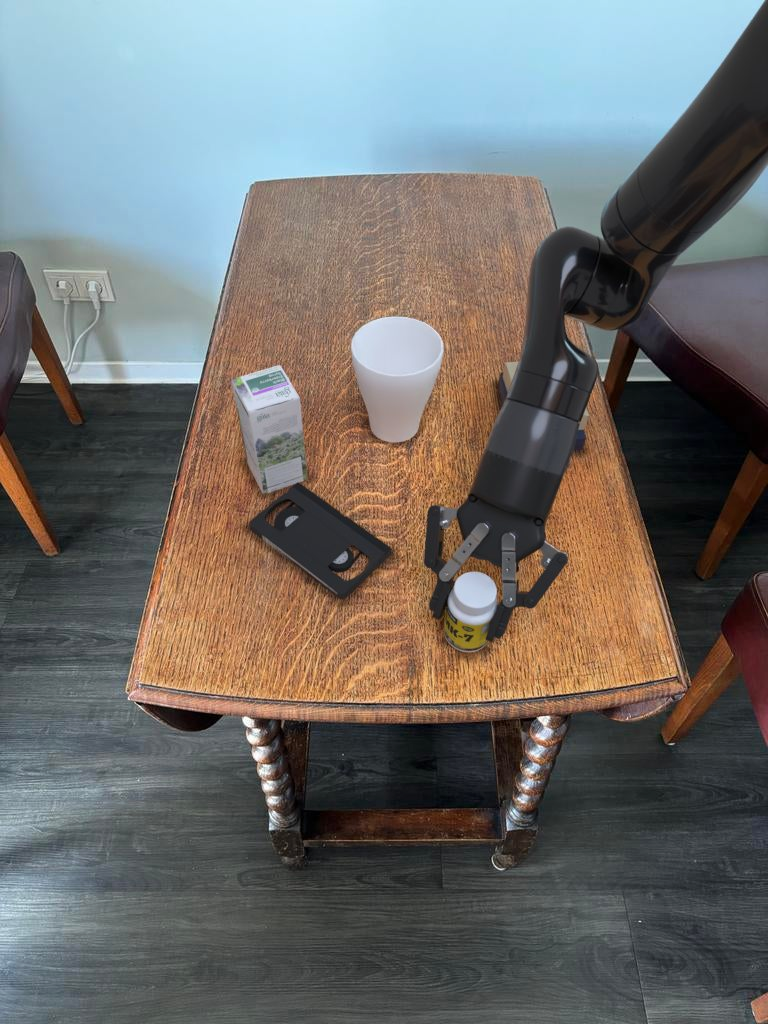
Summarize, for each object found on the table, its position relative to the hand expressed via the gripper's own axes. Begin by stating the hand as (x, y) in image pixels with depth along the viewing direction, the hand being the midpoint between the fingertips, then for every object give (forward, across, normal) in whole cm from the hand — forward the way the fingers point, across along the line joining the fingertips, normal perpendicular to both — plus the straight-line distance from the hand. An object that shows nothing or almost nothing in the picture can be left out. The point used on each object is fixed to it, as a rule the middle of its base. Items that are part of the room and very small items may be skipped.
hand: (463, 627), depth 69 cm
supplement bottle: (+2, 0, +4) cm, 5 cm away
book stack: (-21, -3, +29) cm, 36 cm away
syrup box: (-5, -28, +12) cm, 31 cm away
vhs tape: (0, -19, +8) cm, 20 cm away
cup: (-14, -19, +22) cm, 32 cm away
